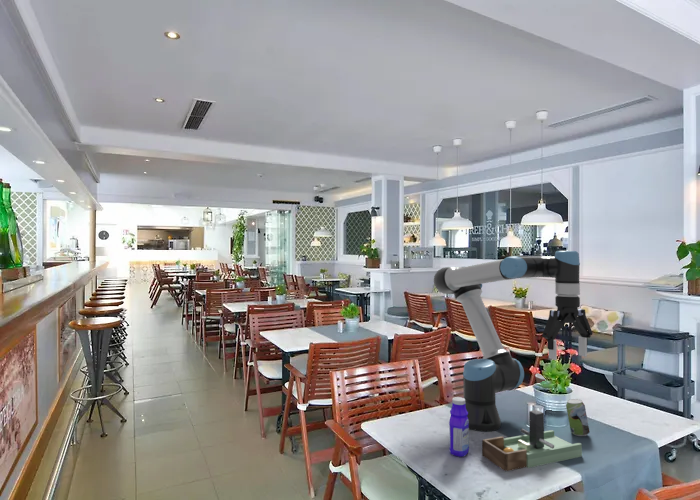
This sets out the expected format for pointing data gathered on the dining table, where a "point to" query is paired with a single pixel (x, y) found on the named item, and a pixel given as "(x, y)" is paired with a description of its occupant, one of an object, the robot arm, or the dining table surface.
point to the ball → (508, 449)
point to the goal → (503, 454)
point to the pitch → (546, 449)
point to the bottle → (459, 428)
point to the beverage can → (577, 417)
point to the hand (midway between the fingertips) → (567, 357)
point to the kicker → (535, 432)
